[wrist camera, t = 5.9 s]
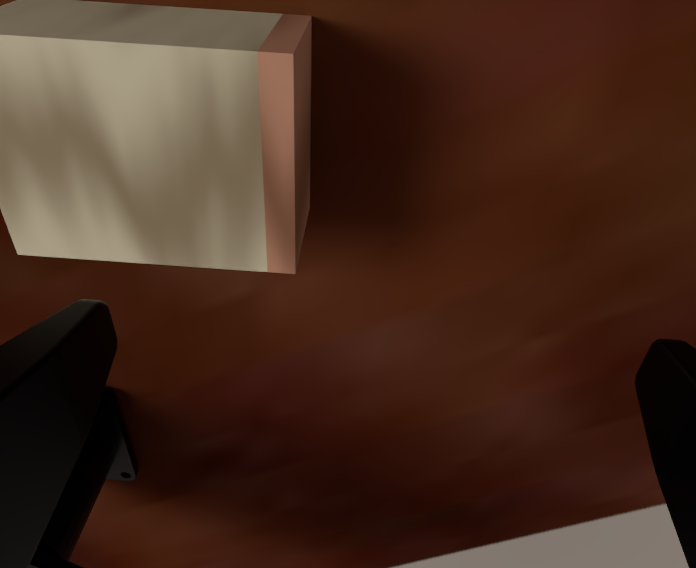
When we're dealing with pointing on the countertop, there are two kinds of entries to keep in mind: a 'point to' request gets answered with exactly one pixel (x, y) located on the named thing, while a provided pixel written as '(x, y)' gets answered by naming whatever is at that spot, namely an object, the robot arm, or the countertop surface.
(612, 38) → the countertop surface
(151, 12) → the birch block
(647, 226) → the countertop surface
